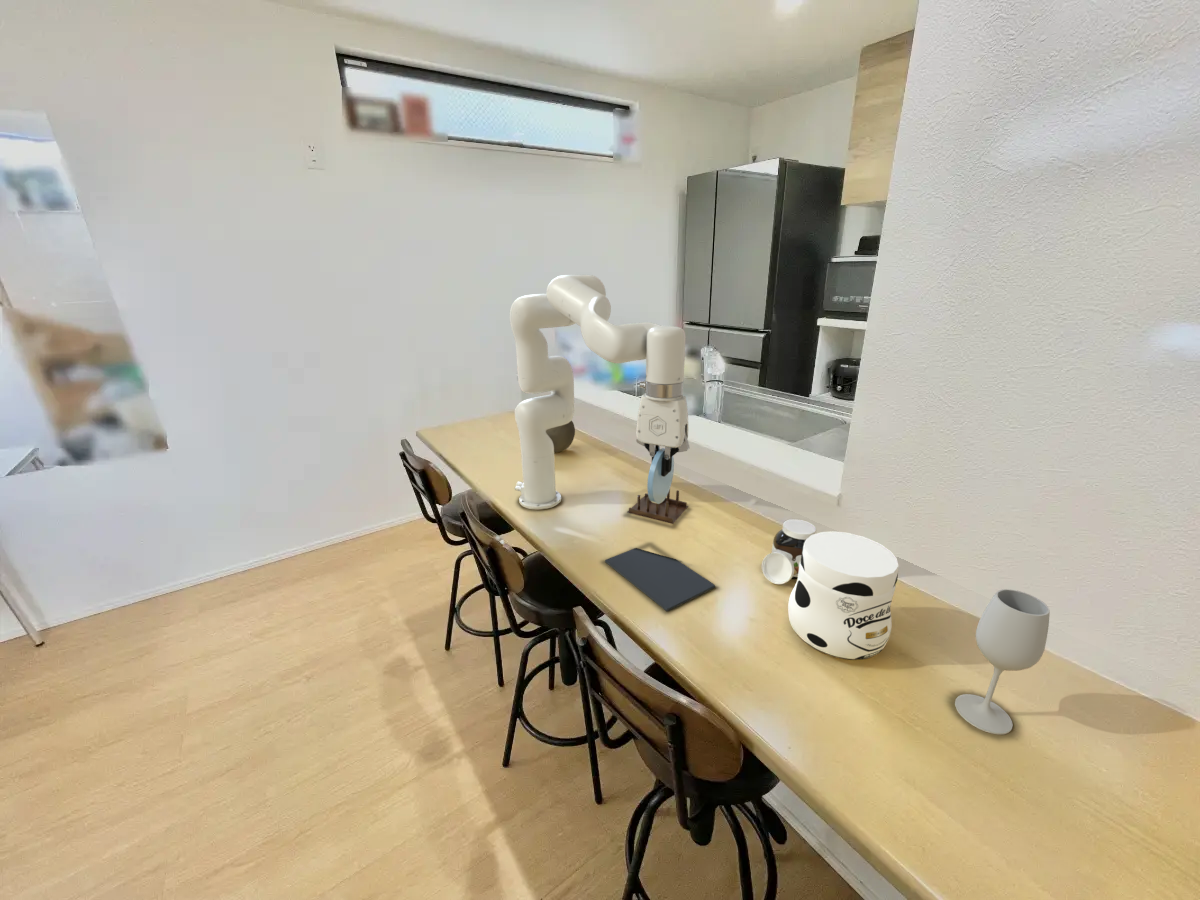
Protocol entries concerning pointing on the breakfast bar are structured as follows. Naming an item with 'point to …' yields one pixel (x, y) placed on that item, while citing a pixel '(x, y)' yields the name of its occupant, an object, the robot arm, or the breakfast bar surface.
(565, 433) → the dark grey ball
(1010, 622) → the wineglass
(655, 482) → the plate
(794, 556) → the spread jar
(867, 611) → the milk container
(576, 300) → the robot arm
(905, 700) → the breakfast bar surface
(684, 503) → the rack
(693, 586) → the mat
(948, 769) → the breakfast bar surface
